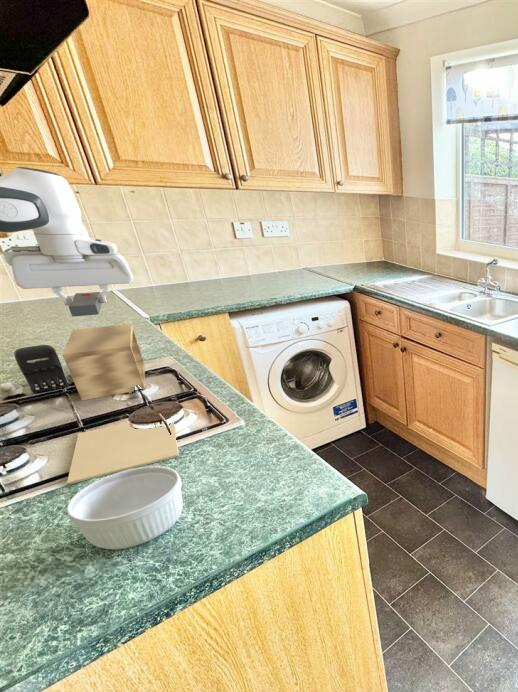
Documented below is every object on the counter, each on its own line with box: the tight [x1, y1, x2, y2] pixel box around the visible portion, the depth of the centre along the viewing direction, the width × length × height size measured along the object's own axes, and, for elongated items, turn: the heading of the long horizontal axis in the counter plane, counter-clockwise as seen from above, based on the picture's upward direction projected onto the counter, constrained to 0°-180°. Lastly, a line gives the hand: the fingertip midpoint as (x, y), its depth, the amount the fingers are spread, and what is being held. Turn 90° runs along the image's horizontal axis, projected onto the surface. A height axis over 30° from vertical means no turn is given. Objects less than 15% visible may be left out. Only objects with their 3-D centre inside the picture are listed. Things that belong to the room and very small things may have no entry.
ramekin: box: [66, 465, 184, 550], centre depth 66 cm, size 13×13×7 cm
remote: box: [68, 291, 103, 317], centre depth 104 cm, size 5×15×3 cm, turn 39°
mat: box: [66, 421, 180, 485], centre depth 86 cm, size 16×20×1 cm
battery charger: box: [13, 343, 70, 394], centre depth 103 cm, size 7×4×11 cm, turn 137°
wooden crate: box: [62, 323, 146, 401], centre depth 110 cm, size 12×21×12 cm, turn 38°
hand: (87, 303), depth 104 cm, fingers closed on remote, 4 cm apart
